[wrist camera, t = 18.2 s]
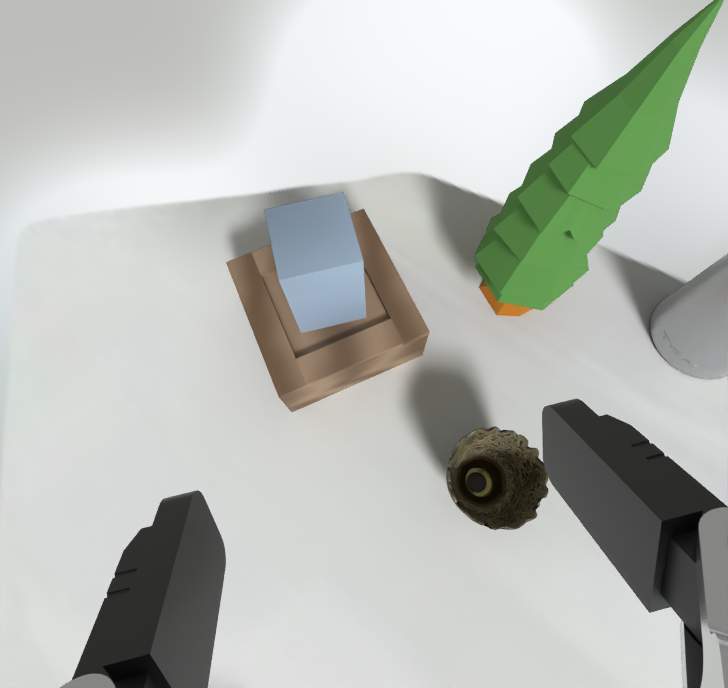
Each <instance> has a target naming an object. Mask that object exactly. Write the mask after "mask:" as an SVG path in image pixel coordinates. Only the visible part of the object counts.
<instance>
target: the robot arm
mask: <svg viewBox="0 0 728 688" xmlns="http://www.w3.org/2000/svg"><path fill="white" fill-rule="evenodd" d="M650 327H651V335H652V339H653V342H654V344H655V346H656V348H657V350H658V351H659V353H660V354H661V355H662V357H663V358H664V359H665V360H666V361H667V362H668V363H669V364H671V365H672V366H673V367H675V368H676V369H678V370H679V371H681V372H683V373H685V374H687V375H690V376H693V377H697V378H701V379H717V378H722V377H725V376H727V375H728V253H727V254H726V255H725V256H723V257H722V258H721V259H719V260H718V261H717V262H715V263H714V264H712V265H711V266H710V267H708V268H707V269H706V270H704V271H703V272H701V273H700V274H699V275H698V276H696V277H695V278H693V279H692V280H691V281H689V282H687V283H686V284H685V285H683V286H682V287H681V288H679V289H678V290H677V291H675V292H674V293H672V294H671V295H670V296H668V297H667V298H666V299H664V300H663V301H662V302H661V303H660V304H659V305H658V306H657V307H656V308H655V310H654V312H653V314H652V318H651V322H650ZM542 429H543V461H544V466H545V470H546V473H547V475H548V477H549V479H550V481H551V483H552V484H553V486H554V487H555V489H556V490H557V491H558V493H559V494H560V495H561V497H562V498H563V499H564V500H565V502H566V503H567V504H568V506H569V507H570V508H571V510H572V511H573V512H574V514H575V515H576V516H577V518H578V519H579V520H580V522H581V523H582V524H583V526H584V527H585V528H586V530H587V531H588V532H589V533H590V535H591V536H592V537H593V539H594V540H595V541H596V543H597V544H598V545H599V547H600V548H601V549H602V551H603V552H604V553H605V555H606V556H607V557H608V559H609V560H610V561H611V563H612V564H613V565H614V566H615V568H616V569H617V570H618V572H619V573H620V574H621V576H622V577H623V578H624V580H625V581H626V582H627V584H628V585H629V586H630V588H631V589H632V590H633V592H634V593H635V594H636V596H637V597H638V598H639V599H640V601H641V602H642V603H643V605H644V606H645V607H646V609H647V610H648V611H649V613H650V612H654V611H657V610H661V609H665V608H668V607H672V609H673V610H674V611H675V612H676V613H677V615H678V616H679V617H680V618H681V624H680V641H681V661H682V682H683V688H728V506H726V505H725V504H724V503H723V502H721V501H720V500H719V499H718V498H717V497H715V496H714V495H713V494H712V493H711V492H710V491H708V490H707V489H706V488H705V487H704V486H702V485H701V484H700V483H699V482H698V481H696V480H695V479H694V478H693V477H692V476H691V475H689V474H688V473H687V472H686V471H685V470H683V469H682V468H681V467H680V466H679V465H678V464H676V463H675V462H674V461H673V460H672V459H670V458H669V457H668V456H667V457H665V455H664V453H663V452H662V451H661V450H660V449H659V448H657V447H656V446H655V445H654V444H653V443H652V444H650V443H649V440H648V439H647V438H645V437H644V436H643V435H642V434H641V433H640V432H638V431H637V430H636V429H635V428H634V427H632V426H631V425H629V424H627V423H625V422H623V421H620V420H618V419H616V418H614V417H612V416H609V415H603V416H598V415H597V414H596V413H595V412H594V411H592V410H591V409H590V408H589V407H588V406H587V405H586V404H585V403H584V402H582V401H581V400H579V399H573V400H569V401H565V402H561V403H557V404H553V405H549V406H545V407H544V409H543V412H542ZM225 566H226V557H225V548H224V543H223V540H222V537H221V535H220V532H219V530H218V528H217V526H216V523H215V521H214V519H213V517H212V514H211V512H210V510H209V508H208V505H207V503H206V501H205V499H204V496H203V495H202V493H201V492H200V491H193V492H189V493H185V494H181V495H177V496H173V497H169V498H165V499H163V500H162V501H161V503H160V505H159V508H158V511H157V513H156V516H155V519H154V522H153V525H152V526H150V527H146V528H142V529H141V530H140V531H139V532H138V533H137V535H136V536H135V537H134V539H133V540H132V541H131V542H130V544H129V545H128V546H127V547H126V549H125V550H124V551H123V554H122V556H121V559H120V561H119V564H118V566H117V569H116V571H115V578H113V579H112V581H111V584H110V586H109V589H108V591H107V598H105V599H104V601H103V604H102V606H101V609H100V611H99V614H98V616H97V619H96V621H95V624H94V626H93V629H92V631H91V634H90V636H89V639H88V641H87V644H86V646H85V649H84V651H83V654H82V656H81V659H80V661H79V664H78V666H77V669H76V671H75V674H74V676H73V678H72V680H71V681H70V682H68V683H66V684H65V685H63V686H62V687H60V688H207V687H208V681H209V674H210V667H211V661H212V654H213V647H214V640H215V634H216V627H217V620H218V614H219V607H220V600H221V593H222V587H223V580H224V573H225Z"/></svg>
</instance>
